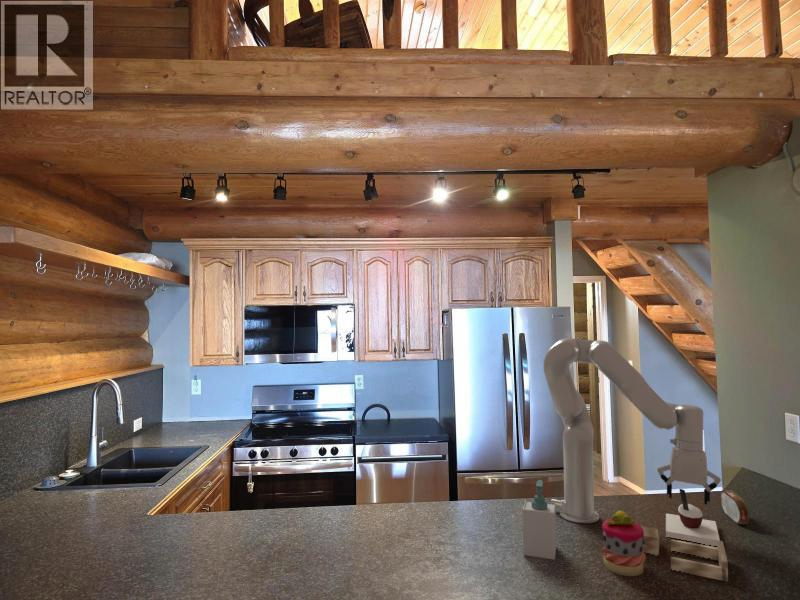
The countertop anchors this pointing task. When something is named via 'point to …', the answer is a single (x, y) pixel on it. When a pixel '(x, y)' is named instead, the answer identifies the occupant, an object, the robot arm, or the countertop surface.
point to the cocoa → (689, 513)
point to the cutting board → (692, 531)
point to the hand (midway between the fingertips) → (687, 500)
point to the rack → (698, 567)
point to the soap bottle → (539, 526)
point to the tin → (734, 507)
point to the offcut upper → (651, 536)
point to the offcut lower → (651, 549)
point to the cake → (623, 545)
